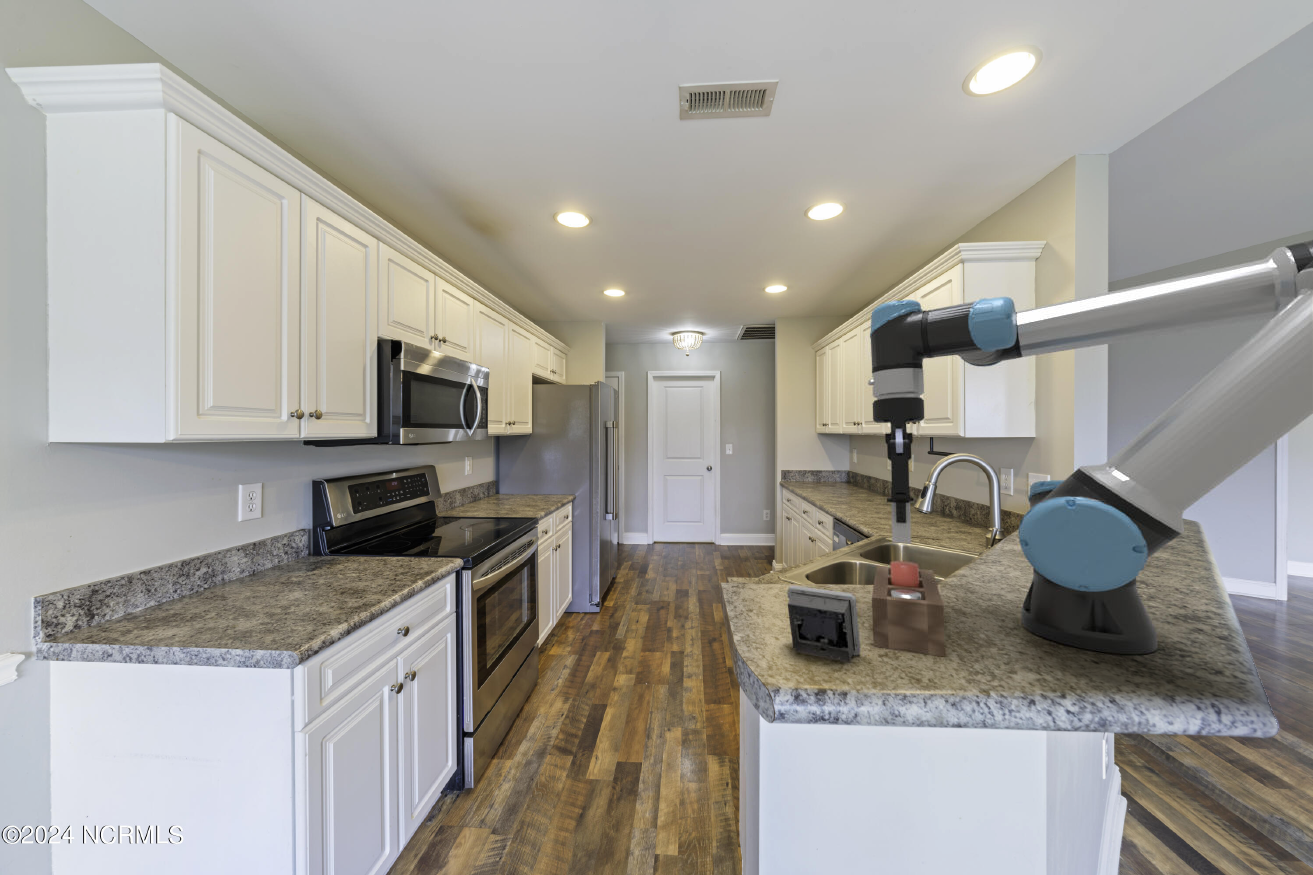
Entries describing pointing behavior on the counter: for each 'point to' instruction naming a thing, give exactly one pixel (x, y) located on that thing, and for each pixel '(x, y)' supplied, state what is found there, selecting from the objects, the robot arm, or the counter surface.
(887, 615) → the brown wooden box
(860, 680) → the counter surface
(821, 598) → the electrical switch
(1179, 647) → the counter surface
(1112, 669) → the counter surface
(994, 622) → the counter surface
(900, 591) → the metal plug
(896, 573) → the red plug
